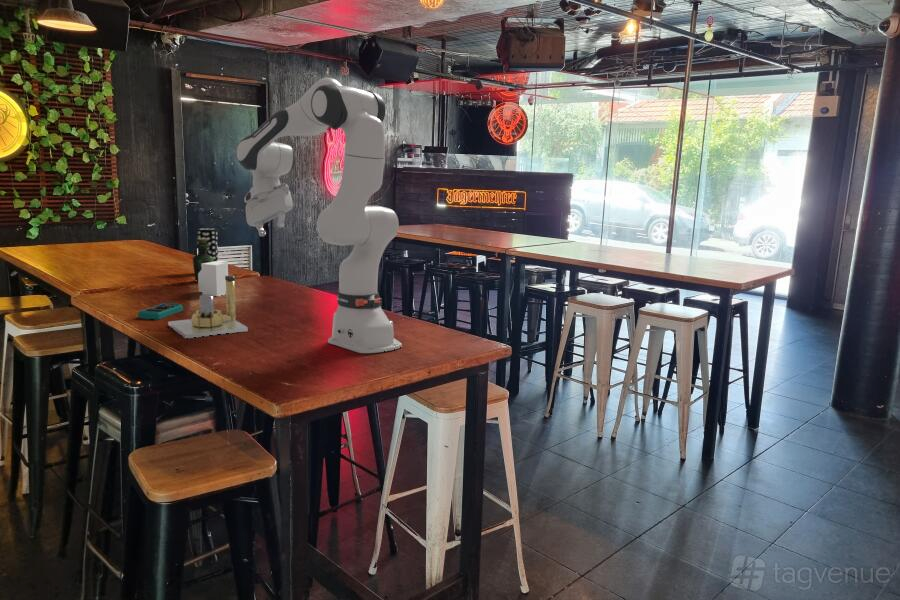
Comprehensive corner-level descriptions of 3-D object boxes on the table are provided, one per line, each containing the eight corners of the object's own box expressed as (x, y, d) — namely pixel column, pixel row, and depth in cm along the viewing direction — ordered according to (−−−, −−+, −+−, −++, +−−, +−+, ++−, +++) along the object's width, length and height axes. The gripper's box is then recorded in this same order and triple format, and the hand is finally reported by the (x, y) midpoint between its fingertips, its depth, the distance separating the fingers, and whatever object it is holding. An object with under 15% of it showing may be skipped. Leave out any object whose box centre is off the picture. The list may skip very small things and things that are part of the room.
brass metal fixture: (204, 328, 189) (202, 283, 186) (186, 323, 194) (185, 279, 191) (243, 320, 200) (242, 277, 198) (226, 315, 205) (225, 274, 202)
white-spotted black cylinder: (206, 275, 284) (205, 230, 280) (194, 273, 288) (193, 228, 284) (222, 273, 291) (221, 229, 287) (210, 271, 295) (209, 227, 291)
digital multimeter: (184, 311, 217) (184, 303, 216) (158, 321, 202) (158, 312, 202) (164, 310, 218) (164, 301, 217) (137, 319, 203) (136, 310, 203)
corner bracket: (217, 297, 241) (215, 265, 238) (192, 293, 244) (191, 262, 242) (235, 292, 250) (234, 261, 248) (211, 289, 254) (210, 259, 252)
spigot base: (247, 331, 193) (247, 298, 191) (185, 338, 183) (184, 304, 181) (225, 318, 209) (224, 287, 207) (167, 324, 198) (165, 292, 196)
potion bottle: (189, 281, 269) (187, 238, 265) (206, 279, 275) (204, 237, 272) (201, 283, 264) (199, 240, 261) (218, 281, 271) (216, 239, 267)
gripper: (295, 182, 208) (299, 223, 205) (257, 202, 220) (260, 241, 217) (279, 178, 203) (283, 220, 200) (241, 199, 215) (244, 239, 212)
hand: (271, 231), depth 209 cm, fingers open, 8 cm apart
